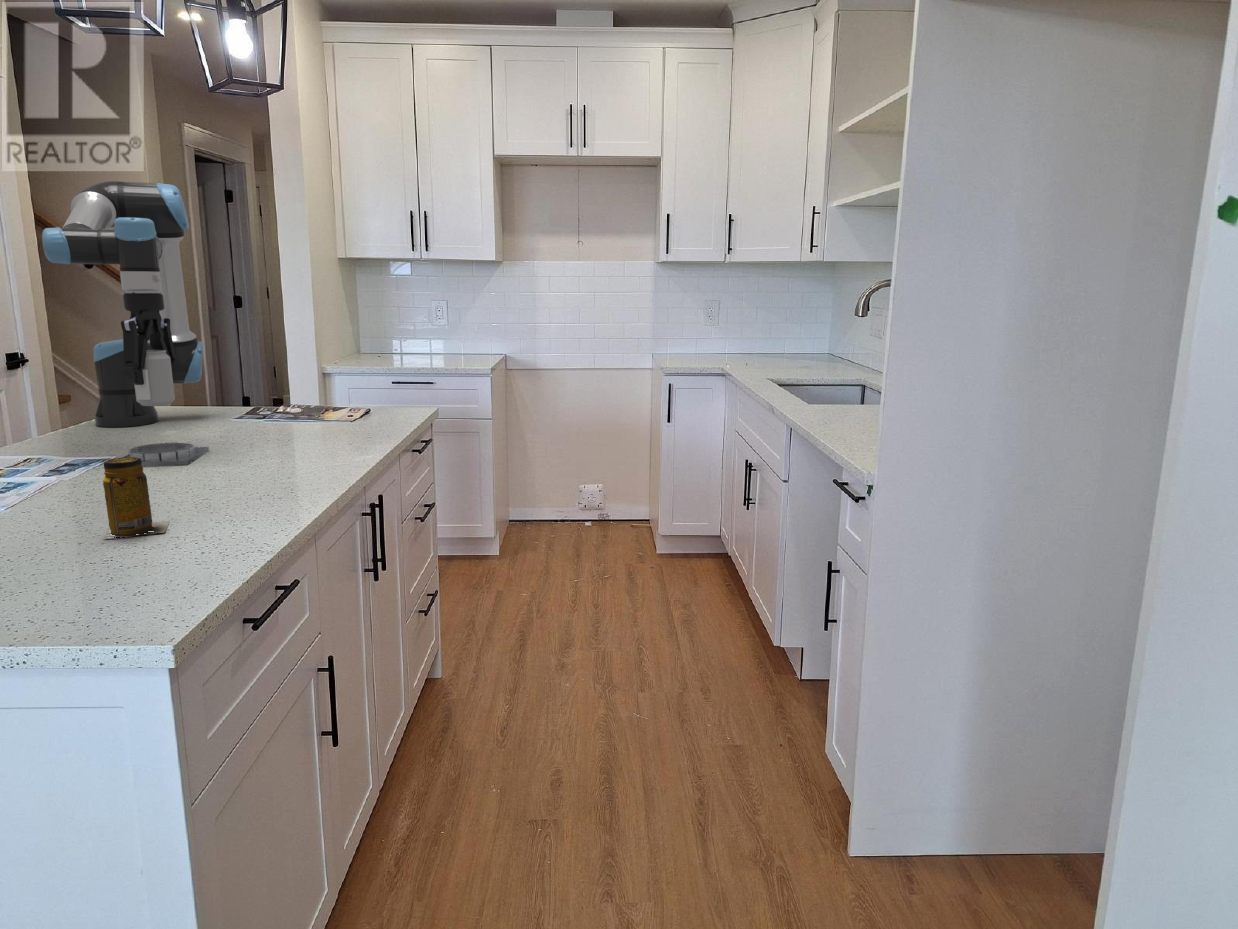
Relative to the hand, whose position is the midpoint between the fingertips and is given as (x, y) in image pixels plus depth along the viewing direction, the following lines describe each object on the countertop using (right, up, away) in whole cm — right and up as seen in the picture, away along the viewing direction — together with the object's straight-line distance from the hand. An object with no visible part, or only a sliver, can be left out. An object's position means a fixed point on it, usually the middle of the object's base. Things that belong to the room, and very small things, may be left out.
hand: (155, 396), depth 178 cm
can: (0, -2, 0) cm, 2 cm away
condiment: (+25, -26, -47) cm, 60 cm away
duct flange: (0, -14, +3) cm, 14 cm away
